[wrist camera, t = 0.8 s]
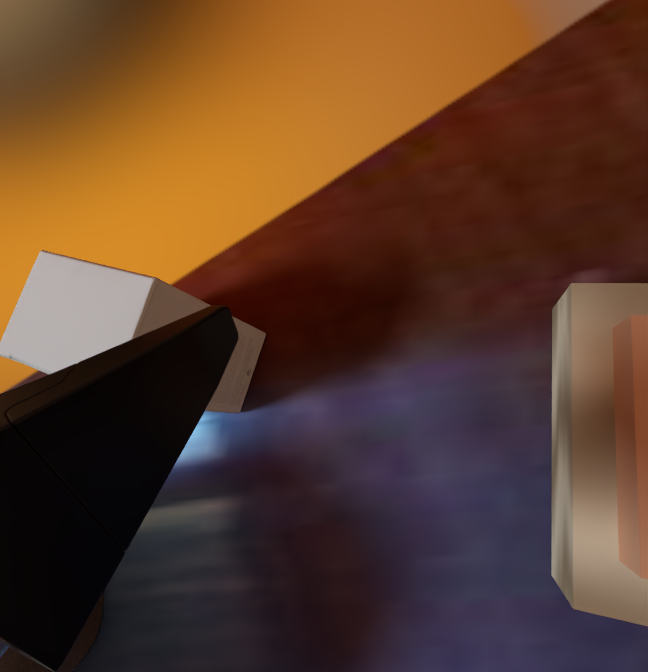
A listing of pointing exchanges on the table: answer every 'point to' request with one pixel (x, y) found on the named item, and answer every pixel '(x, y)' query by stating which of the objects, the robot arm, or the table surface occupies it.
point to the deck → (590, 451)
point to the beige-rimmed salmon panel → (632, 440)
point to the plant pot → (17, 668)
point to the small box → (109, 320)
